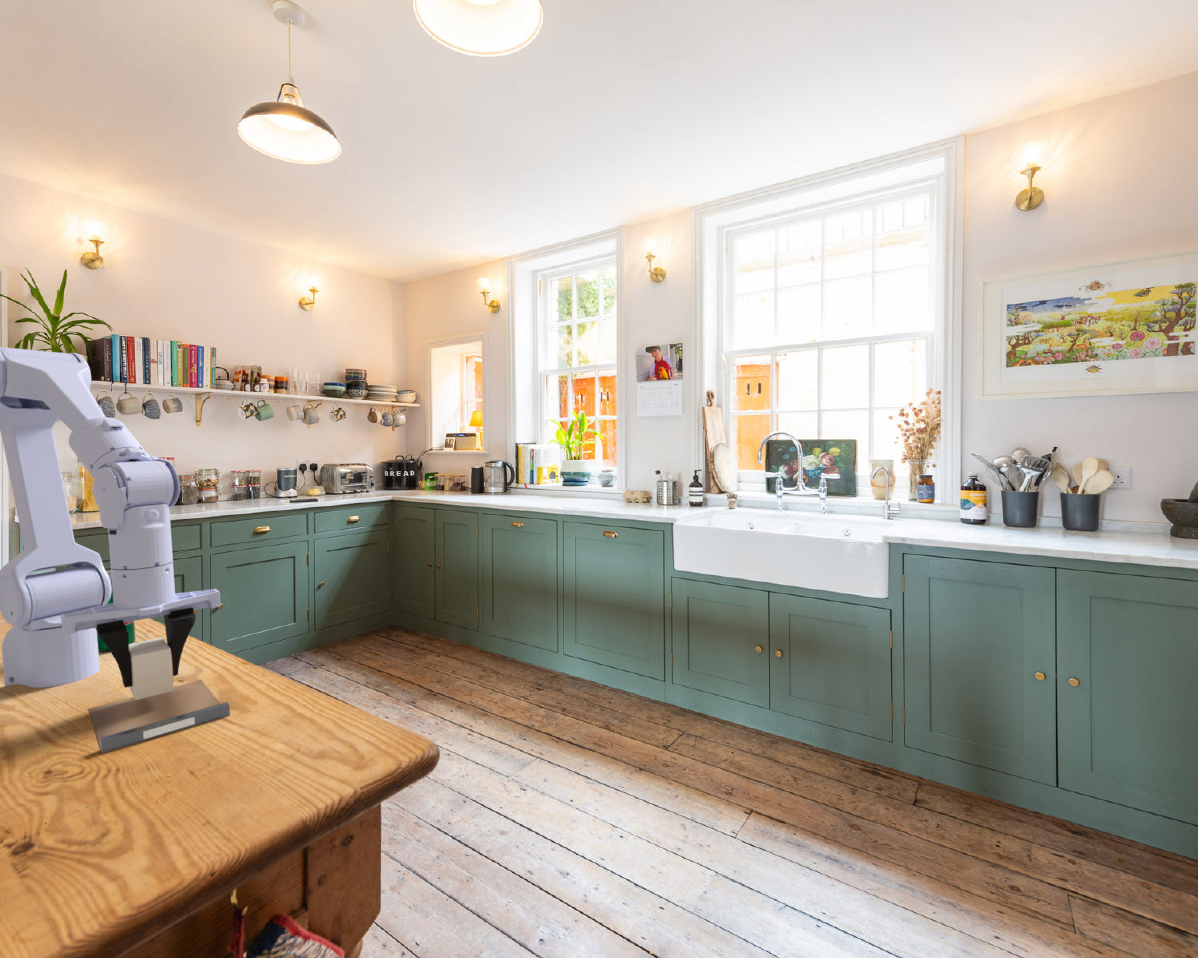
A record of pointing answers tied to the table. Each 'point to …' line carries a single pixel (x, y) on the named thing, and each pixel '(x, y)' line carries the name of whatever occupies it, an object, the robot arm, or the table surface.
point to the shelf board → (150, 709)
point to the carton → (150, 668)
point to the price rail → (163, 727)
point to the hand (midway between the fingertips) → (150, 678)
